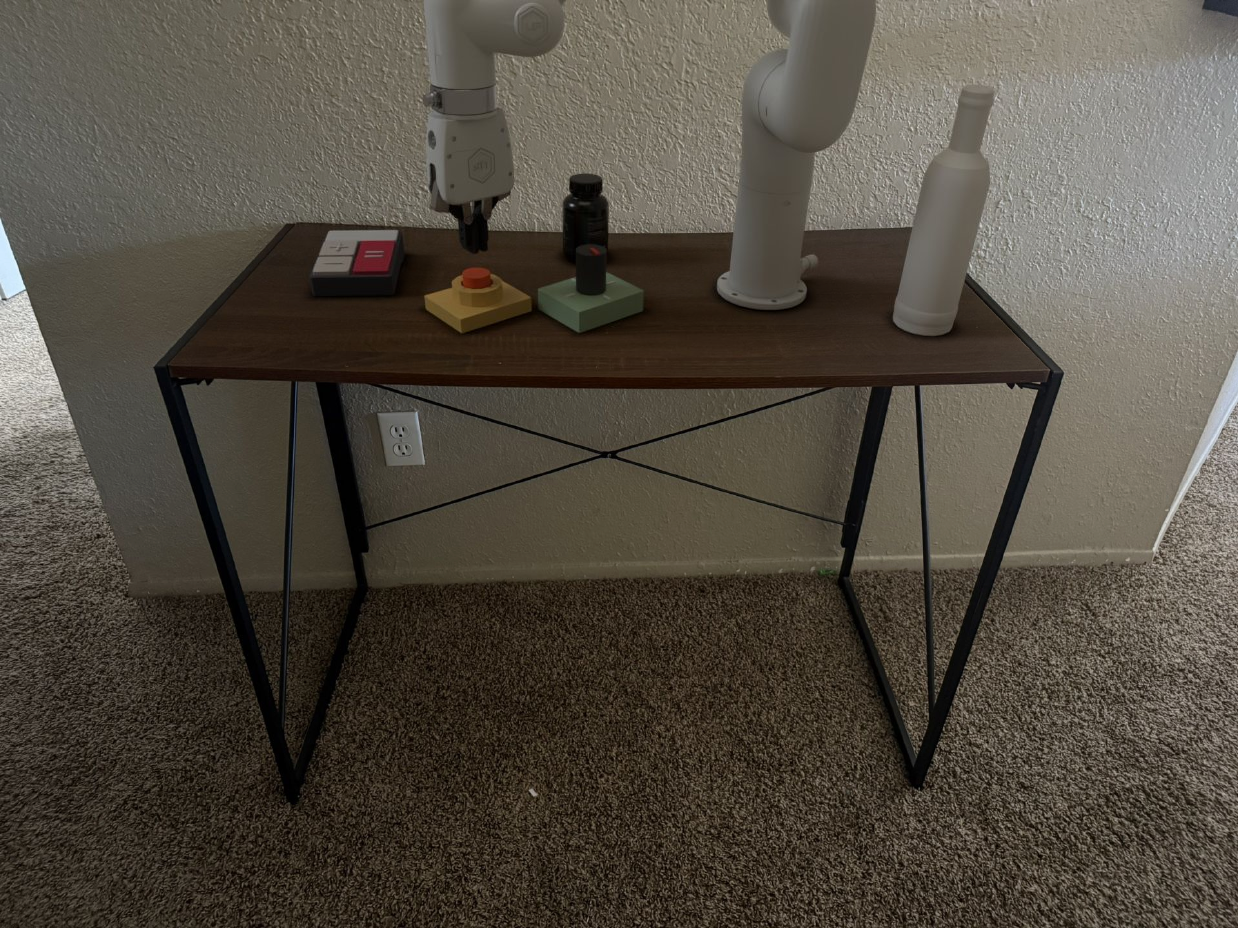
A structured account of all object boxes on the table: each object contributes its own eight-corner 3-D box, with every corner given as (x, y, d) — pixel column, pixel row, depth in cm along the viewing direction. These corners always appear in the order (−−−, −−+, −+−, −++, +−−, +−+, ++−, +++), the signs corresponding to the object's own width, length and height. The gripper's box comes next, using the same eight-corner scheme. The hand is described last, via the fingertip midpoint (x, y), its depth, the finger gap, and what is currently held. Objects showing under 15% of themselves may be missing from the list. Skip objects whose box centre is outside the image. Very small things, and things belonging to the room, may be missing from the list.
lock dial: (571, 285, 121) (570, 244, 118) (598, 281, 122) (598, 240, 119) (583, 297, 118) (583, 255, 115) (610, 292, 119) (611, 251, 116)
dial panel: (601, 289, 128) (601, 268, 126) (643, 311, 122) (644, 289, 120) (538, 309, 122) (537, 287, 120) (579, 333, 116) (579, 311, 114)
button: (481, 277, 121) (480, 265, 120) (496, 286, 119) (495, 274, 118) (458, 284, 119) (457, 271, 118) (472, 293, 117) (472, 280, 116)
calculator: (307, 272, 121) (325, 226, 132) (313, 301, 123) (330, 253, 135) (391, 271, 122) (401, 225, 134) (394, 299, 124) (405, 253, 136)
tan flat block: (494, 289, 127) (492, 262, 124) (531, 311, 121) (531, 283, 119) (425, 309, 121) (422, 281, 119) (461, 333, 115) (459, 304, 113)
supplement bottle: (609, 250, 140) (611, 172, 133) (605, 267, 134) (607, 187, 127) (566, 247, 140) (565, 169, 133) (559, 264, 135) (559, 184, 128)
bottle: (955, 340, 117) (1020, 98, 100) (893, 333, 119) (946, 92, 101) (949, 314, 124) (1009, 82, 107) (890, 308, 125) (940, 77, 108)
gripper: (423, 115, 99) (438, 273, 110) (536, 97, 107) (539, 245, 118) (390, 101, 104) (407, 254, 114) (500, 85, 112) (507, 228, 123)
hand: (474, 249), depth 116 cm, fingers closed
